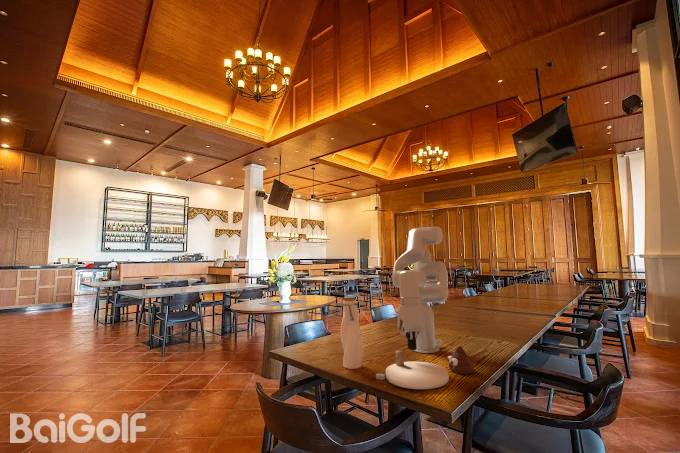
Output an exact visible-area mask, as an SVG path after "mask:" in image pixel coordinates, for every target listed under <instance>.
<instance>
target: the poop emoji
mask: <svg viewBox="0 0 680 453" xmlns="http://www.w3.org/2000/svg"><path fill="white" fill-rule="evenodd" d="M446 359H447V362H448V367H449V369H450V370H452V371H453V372H454V373H456V374H458V375H464V376H465V375H472V374H473V373H474V370H475V368H474V366H473V363H472V361H471V359H470V357H469V356H468V353H466V352H465V349H464V348H463V347H462V346H461V345H459V346H457V347H456V348H455V349H454V352H453V353H452V355H449V356H447V358H446Z"/></svg>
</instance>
